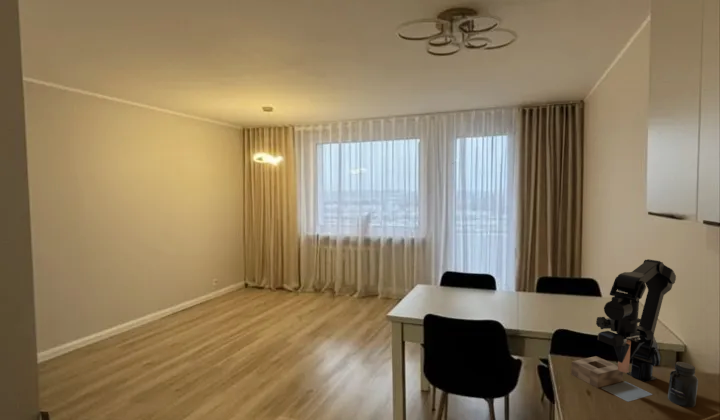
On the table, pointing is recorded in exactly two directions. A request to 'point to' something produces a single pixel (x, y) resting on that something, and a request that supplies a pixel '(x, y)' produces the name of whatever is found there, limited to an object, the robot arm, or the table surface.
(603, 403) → the table surface
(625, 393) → the mat
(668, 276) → the robot arm
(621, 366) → the dowel
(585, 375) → the socket block
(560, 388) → the table surface
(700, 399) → the table surface
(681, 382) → the supplement bottle
